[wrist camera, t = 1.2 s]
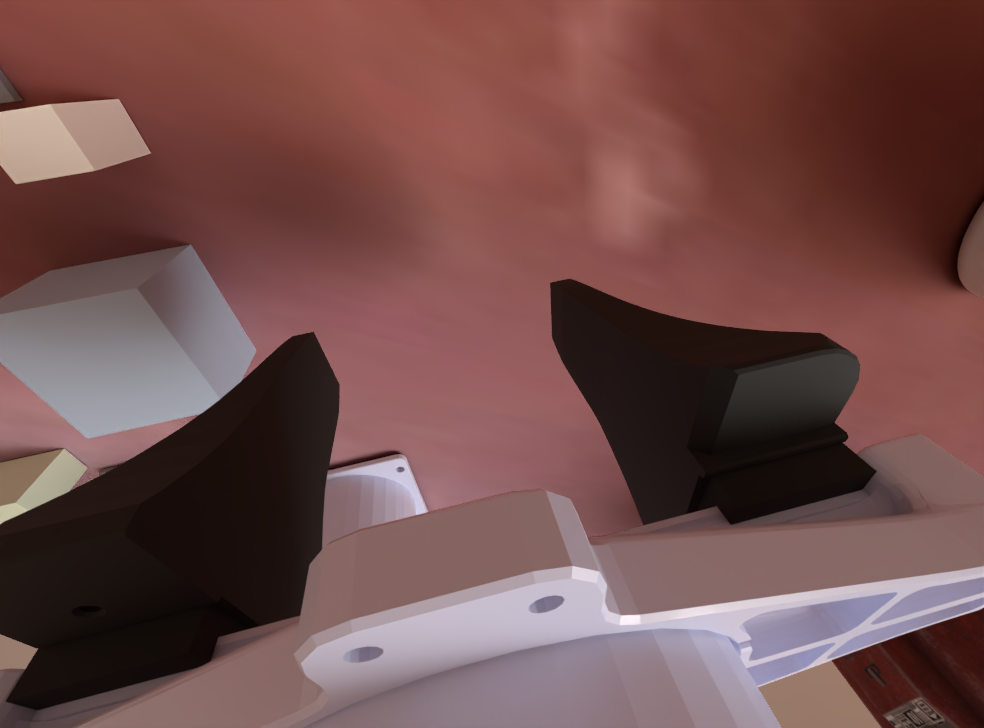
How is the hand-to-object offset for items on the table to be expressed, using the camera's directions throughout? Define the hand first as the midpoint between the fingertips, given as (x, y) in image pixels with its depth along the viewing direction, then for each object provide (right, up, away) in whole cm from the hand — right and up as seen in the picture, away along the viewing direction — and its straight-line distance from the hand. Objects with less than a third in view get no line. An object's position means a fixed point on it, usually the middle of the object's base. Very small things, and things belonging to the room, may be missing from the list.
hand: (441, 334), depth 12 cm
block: (-12, +1, +4) cm, 13 cm away
